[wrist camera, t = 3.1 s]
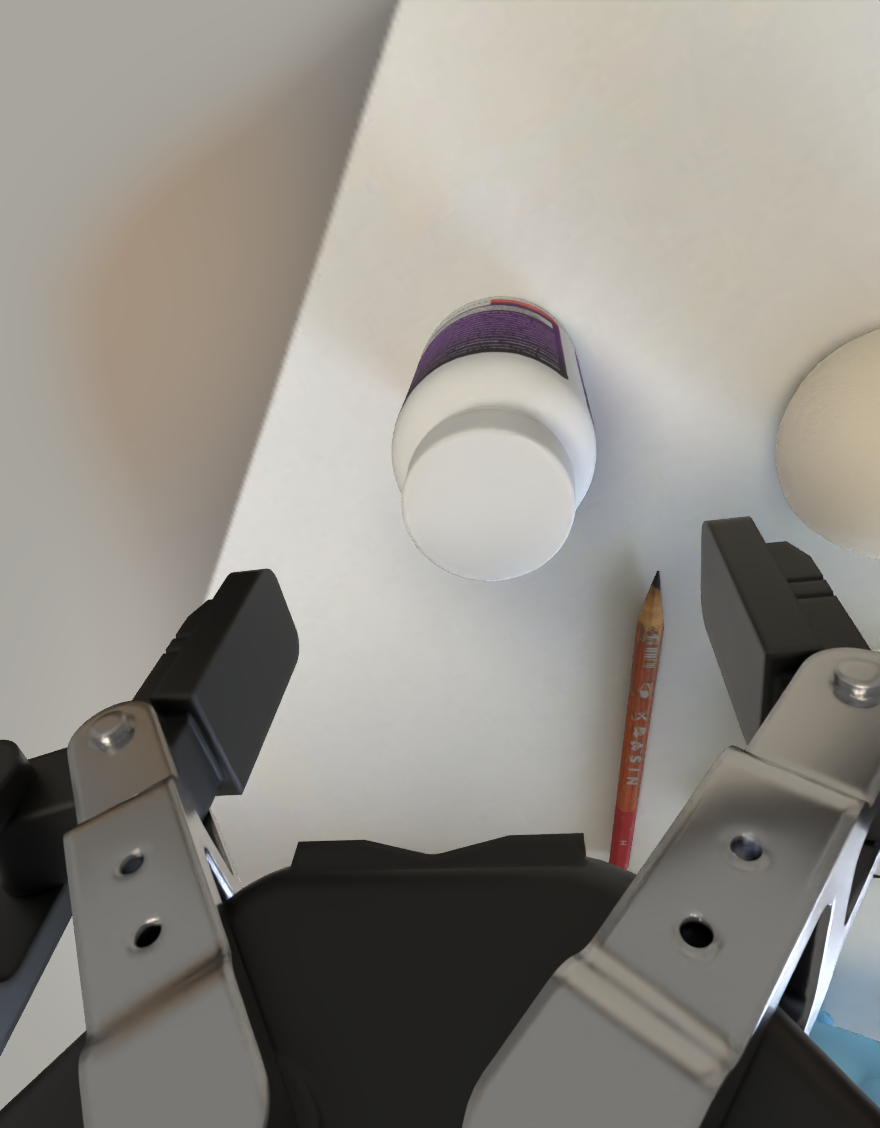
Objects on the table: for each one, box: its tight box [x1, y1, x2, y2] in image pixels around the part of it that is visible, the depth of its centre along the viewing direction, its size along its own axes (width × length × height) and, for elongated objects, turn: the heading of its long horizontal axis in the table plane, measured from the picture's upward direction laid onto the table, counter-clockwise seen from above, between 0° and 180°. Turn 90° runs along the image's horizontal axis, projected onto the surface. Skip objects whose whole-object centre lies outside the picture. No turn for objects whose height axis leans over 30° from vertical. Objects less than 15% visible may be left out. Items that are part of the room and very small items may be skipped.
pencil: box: [609, 571, 664, 870], centre depth 32 cm, size 19×1×1 cm, turn 3°
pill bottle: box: [392, 297, 597, 581], centre depth 20 cm, size 5×5×10 cm
